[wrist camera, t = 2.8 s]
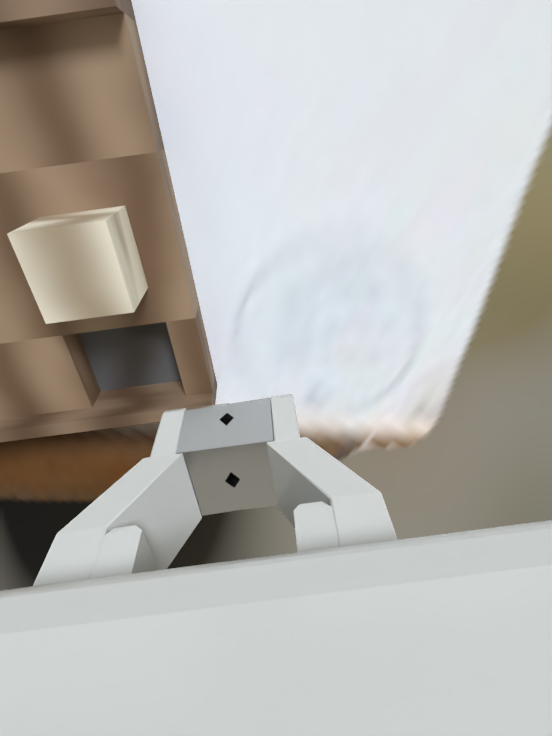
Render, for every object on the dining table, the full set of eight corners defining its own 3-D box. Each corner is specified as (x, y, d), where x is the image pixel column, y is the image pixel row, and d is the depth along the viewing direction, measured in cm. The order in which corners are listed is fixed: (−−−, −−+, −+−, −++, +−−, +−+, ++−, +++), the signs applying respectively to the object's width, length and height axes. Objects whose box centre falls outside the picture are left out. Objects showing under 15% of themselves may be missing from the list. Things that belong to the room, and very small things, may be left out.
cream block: (70, 297, 28) (45, 323, 24) (39, 217, 25) (6, 233, 22) (148, 287, 27) (134, 312, 24) (125, 205, 25) (105, 220, 21)
